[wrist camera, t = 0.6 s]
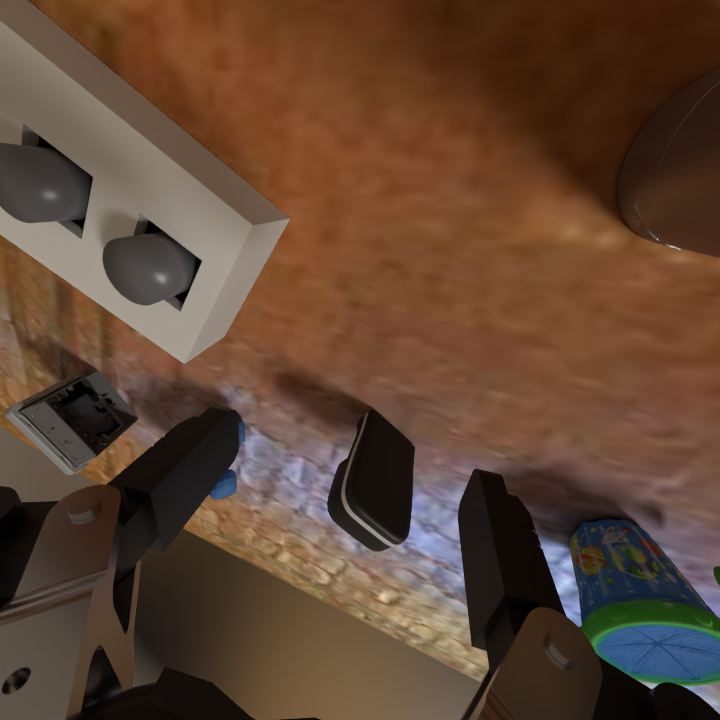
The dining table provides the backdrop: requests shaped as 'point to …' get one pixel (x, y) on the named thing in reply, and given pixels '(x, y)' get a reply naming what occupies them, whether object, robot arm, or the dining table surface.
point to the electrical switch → (73, 419)
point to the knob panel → (129, 185)
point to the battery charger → (375, 486)
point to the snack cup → (642, 607)
